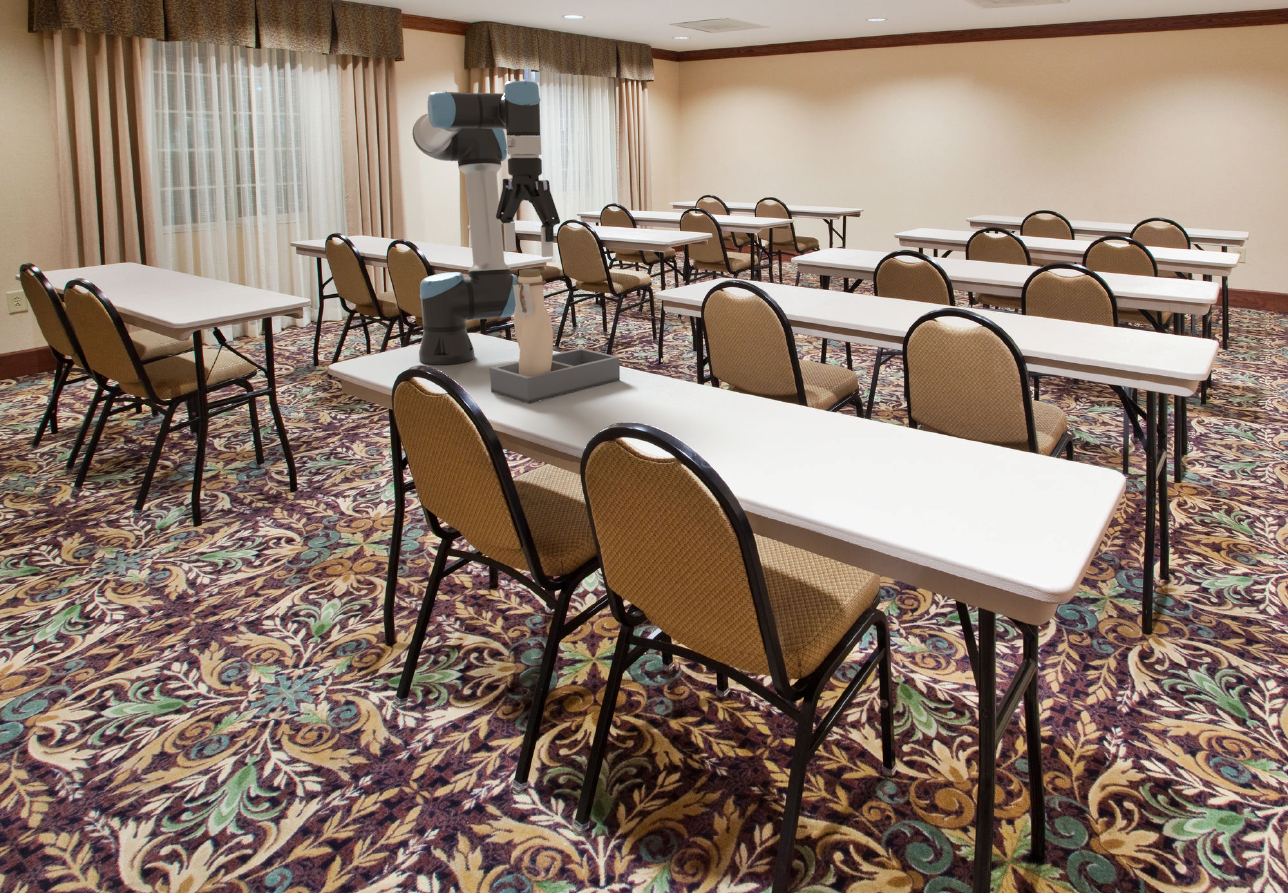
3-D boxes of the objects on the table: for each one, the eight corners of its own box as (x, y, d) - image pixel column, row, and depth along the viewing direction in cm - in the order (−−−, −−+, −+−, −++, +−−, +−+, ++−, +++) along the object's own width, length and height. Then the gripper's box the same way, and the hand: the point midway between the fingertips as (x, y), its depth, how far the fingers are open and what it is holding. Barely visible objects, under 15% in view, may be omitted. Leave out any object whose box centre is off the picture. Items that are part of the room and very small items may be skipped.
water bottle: (551, 392, 201) (545, 273, 192) (513, 392, 201) (505, 273, 192) (557, 381, 210) (552, 267, 201) (522, 381, 211) (514, 267, 202)
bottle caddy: (491, 391, 206) (489, 367, 204) (582, 370, 226) (581, 348, 224) (528, 403, 196) (527, 378, 194) (619, 380, 216) (619, 357, 214)
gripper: (477, 156, 194) (483, 250, 201) (547, 157, 178) (550, 260, 185) (504, 155, 199) (508, 247, 206) (574, 157, 183) (576, 257, 190)
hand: (528, 254), depth 195 cm, fingers open, 13 cm apart
